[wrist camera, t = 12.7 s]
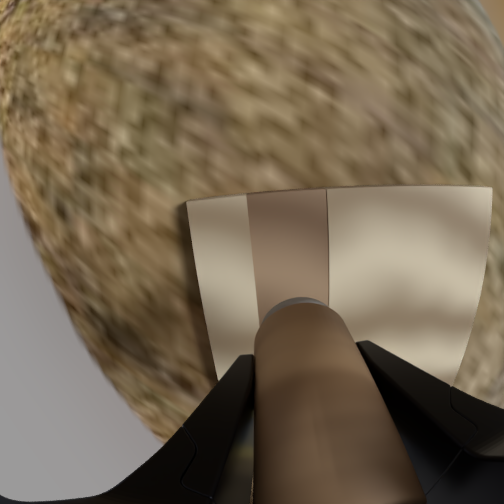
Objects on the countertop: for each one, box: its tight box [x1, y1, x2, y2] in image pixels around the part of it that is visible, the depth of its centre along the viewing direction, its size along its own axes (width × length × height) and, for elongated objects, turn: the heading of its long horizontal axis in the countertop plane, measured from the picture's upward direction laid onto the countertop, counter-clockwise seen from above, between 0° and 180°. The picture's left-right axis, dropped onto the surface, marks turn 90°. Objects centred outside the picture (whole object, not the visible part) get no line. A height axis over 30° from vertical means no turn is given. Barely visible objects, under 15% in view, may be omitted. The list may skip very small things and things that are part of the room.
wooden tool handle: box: [253, 297, 427, 504], centre depth 6 cm, size 3×3×7 cm
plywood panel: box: [186, 184, 492, 387], centre depth 17 cm, size 18×19×1 cm
